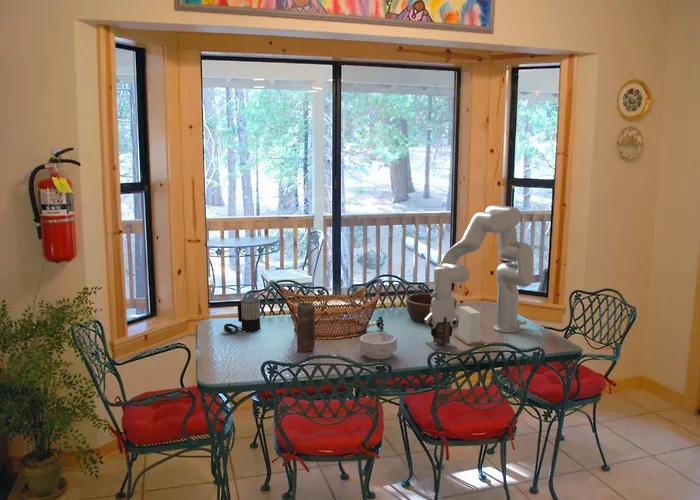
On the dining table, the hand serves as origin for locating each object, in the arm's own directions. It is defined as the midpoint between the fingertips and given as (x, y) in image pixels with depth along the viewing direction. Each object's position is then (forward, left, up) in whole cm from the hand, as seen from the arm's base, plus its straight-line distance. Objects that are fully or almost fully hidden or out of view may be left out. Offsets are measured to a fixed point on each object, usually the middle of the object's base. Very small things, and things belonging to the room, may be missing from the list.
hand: (441, 335), depth 257 cm
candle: (+57, -10, -5) cm, 58 cm away
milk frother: (+81, -45, -5) cm, 92 cm away
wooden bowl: (-13, -42, -5) cm, 44 cm away
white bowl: (+30, +5, -5) cm, 31 cm away
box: (0, 0, -3) cm, 3 cm away
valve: (+23, -30, -5) cm, 38 cm away
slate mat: (0, 0, -5) cm, 5 cm away
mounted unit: (-15, -4, -5) cm, 16 cm away
